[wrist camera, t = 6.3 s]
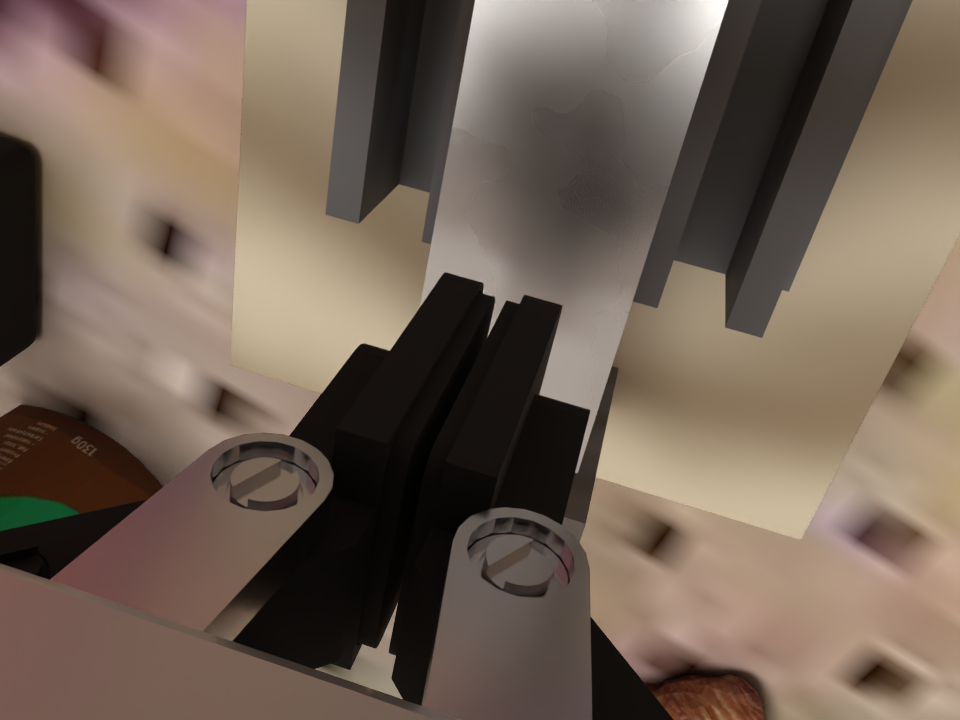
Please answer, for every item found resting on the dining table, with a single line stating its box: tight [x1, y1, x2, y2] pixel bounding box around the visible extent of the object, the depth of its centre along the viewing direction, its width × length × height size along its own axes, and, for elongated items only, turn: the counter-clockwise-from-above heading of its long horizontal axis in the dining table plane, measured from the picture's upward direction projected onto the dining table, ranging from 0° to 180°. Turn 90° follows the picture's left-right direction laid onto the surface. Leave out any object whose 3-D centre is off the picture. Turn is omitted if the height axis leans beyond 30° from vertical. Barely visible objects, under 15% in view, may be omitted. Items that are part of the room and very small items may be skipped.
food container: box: [0, 405, 163, 531], centre depth 27 cm, size 12×6×10 cm, turn 4°
